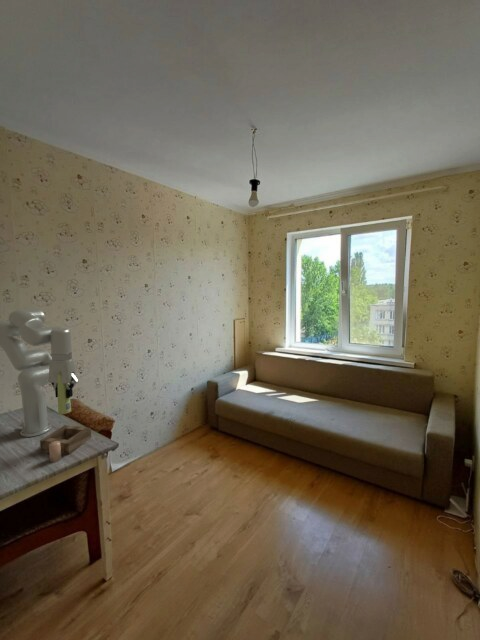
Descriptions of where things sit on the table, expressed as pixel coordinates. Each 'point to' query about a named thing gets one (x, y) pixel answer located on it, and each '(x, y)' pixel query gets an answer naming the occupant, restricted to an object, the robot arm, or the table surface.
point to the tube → (63, 398)
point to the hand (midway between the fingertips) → (64, 396)
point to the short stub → (55, 451)
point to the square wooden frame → (72, 432)
